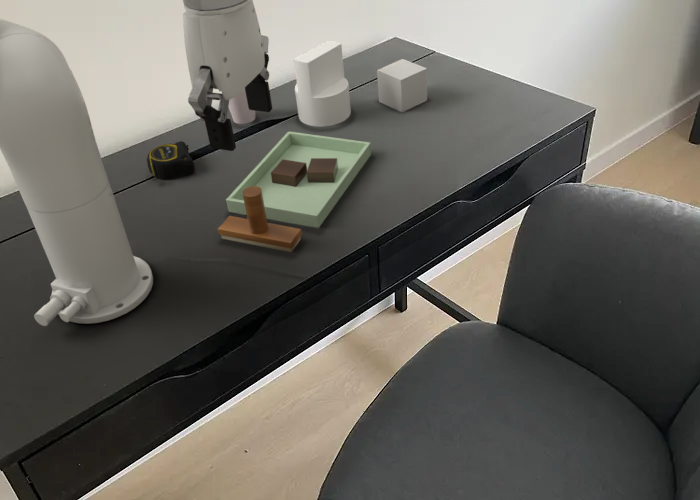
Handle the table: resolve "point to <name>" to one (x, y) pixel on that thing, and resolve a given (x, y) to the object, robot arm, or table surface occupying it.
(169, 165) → the tape measure
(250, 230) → the brush
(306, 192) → the tray
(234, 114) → the smoothie
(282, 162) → the dark brown square block
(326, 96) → the base with upright slab
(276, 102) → the table surface
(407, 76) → the light grey cube
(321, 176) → the chip
